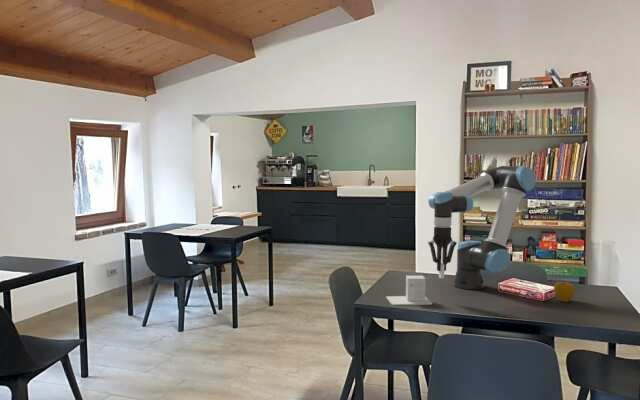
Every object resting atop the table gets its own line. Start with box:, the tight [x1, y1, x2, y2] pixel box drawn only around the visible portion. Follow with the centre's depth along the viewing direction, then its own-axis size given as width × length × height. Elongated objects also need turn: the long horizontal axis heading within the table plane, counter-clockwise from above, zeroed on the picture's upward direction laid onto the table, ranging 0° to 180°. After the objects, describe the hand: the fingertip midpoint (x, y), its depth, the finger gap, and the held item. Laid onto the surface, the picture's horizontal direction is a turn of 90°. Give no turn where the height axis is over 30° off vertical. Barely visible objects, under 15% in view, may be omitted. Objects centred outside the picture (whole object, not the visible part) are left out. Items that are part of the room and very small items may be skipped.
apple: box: [553, 281, 576, 303], centre depth 216 cm, size 9×8×9 cm
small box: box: [405, 275, 427, 301], centre depth 215 cm, size 8×6×10 cm
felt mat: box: [385, 295, 433, 306], centre depth 215 cm, size 18×12×1 cm, turn 95°
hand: (441, 277), depth 216 cm, fingers closed
